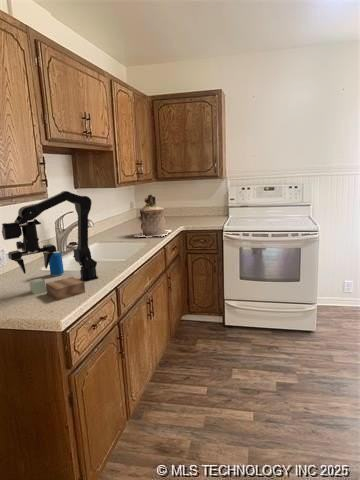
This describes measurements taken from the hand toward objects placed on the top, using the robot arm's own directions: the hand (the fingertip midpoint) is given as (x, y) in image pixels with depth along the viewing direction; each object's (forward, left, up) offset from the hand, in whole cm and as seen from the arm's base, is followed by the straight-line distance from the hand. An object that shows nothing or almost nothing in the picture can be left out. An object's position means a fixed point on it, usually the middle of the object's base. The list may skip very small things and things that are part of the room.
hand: (35, 271), depth 153 cm
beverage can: (-16, -19, -10) cm, 27 cm away
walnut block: (-7, +12, -10) cm, 17 cm away
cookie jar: (-111, -66, -10) cm, 129 cm away
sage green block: (0, 0, -9) cm, 9 cm away
